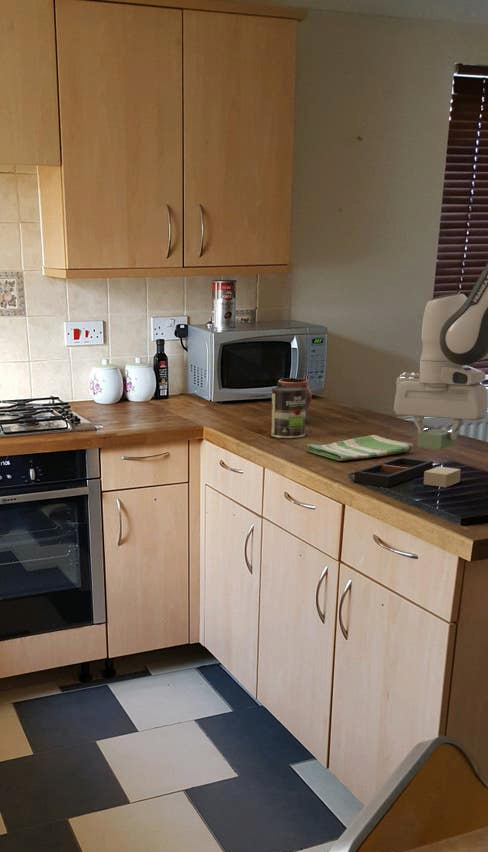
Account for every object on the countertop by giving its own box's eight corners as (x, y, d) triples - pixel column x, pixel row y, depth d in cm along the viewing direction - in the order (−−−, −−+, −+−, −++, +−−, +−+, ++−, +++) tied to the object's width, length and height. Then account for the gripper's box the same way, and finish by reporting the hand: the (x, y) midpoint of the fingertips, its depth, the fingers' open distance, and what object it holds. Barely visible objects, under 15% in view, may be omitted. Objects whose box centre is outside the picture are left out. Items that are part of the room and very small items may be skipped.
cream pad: (459, 481, 203) (460, 469, 202) (445, 487, 198) (446, 474, 197) (437, 478, 207) (438, 466, 206) (423, 484, 202) (424, 471, 201)
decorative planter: (320, 426, 279) (321, 382, 274) (283, 428, 277) (284, 384, 272) (300, 416, 298) (301, 375, 293) (265, 418, 296) (265, 377, 291)
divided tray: (432, 471, 214) (433, 461, 213) (388, 487, 200) (388, 476, 199) (399, 466, 220) (400, 456, 219) (354, 482, 206) (354, 471, 205)
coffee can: (311, 436, 263) (313, 388, 258) (282, 439, 259) (283, 391, 254) (293, 431, 272) (294, 385, 267) (264, 434, 268) (265, 387, 263)
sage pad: (455, 444, 192) (456, 430, 191) (440, 449, 187) (441, 435, 187) (432, 442, 196) (433, 428, 195) (417, 447, 191) (418, 433, 190)
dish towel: (304, 451, 242) (305, 441, 241) (375, 443, 250) (375, 433, 249) (341, 463, 226) (341, 452, 225) (415, 453, 234) (416, 443, 233)
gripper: (389, 373, 192) (387, 436, 196) (479, 376, 178) (474, 444, 182) (404, 370, 196) (401, 432, 200) (493, 373, 182) (488, 439, 187)
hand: (437, 438), depth 191 cm, fingers closed on sage pad, 5 cm apart
